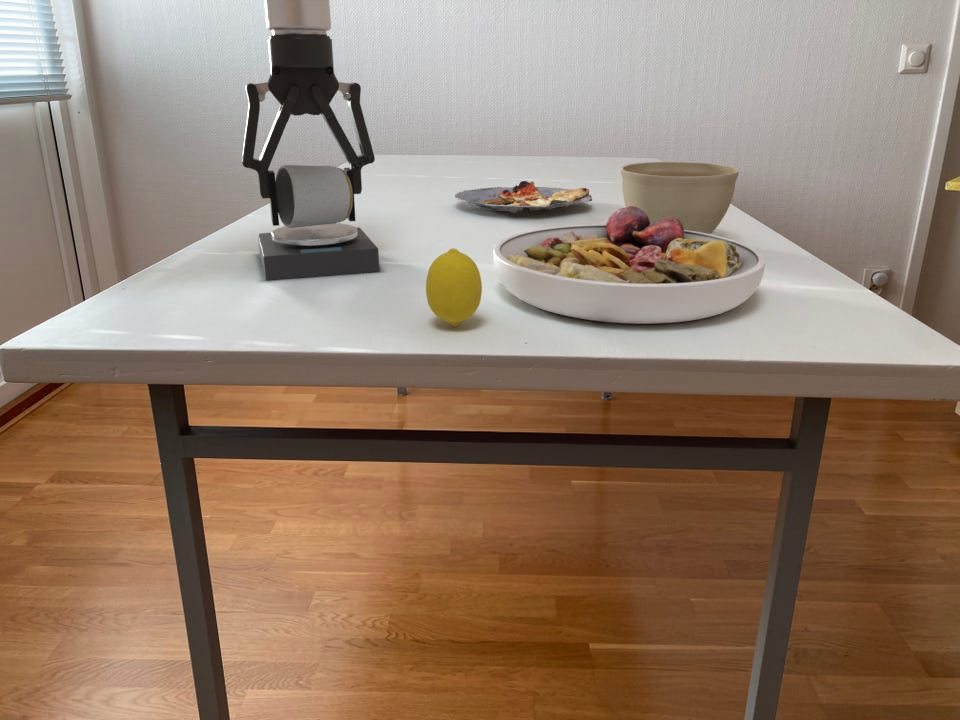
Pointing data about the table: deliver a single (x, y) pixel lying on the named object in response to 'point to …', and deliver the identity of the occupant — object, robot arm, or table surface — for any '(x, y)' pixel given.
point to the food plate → (524, 197)
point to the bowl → (628, 270)
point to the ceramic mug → (312, 195)
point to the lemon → (453, 287)
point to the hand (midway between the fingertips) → (313, 221)
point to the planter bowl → (680, 192)
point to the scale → (317, 258)
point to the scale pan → (315, 234)
